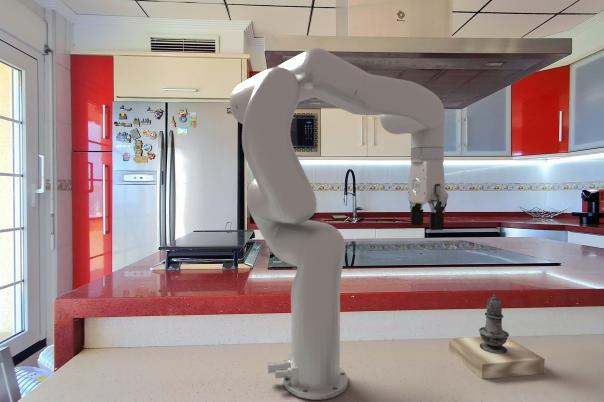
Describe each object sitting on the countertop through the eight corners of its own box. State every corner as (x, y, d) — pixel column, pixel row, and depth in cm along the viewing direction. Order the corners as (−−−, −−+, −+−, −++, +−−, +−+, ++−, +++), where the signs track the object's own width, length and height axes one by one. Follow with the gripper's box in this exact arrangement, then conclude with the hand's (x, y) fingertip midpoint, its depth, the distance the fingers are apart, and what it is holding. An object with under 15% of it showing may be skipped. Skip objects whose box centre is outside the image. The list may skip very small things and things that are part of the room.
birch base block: (481, 378, 73) (482, 364, 73) (448, 351, 85) (449, 338, 85) (544, 373, 75) (544, 358, 75) (503, 347, 87) (503, 334, 87)
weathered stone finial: (512, 355, 77) (514, 299, 76) (482, 353, 78) (483, 297, 77) (503, 343, 82) (504, 290, 82) (475, 341, 84) (476, 289, 83)
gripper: (397, 158, 96) (396, 223, 97) (430, 153, 79) (429, 232, 80) (424, 158, 97) (423, 223, 98) (462, 153, 80) (461, 231, 81)
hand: (426, 227), depth 89 cm, fingers open, 9 cm apart
